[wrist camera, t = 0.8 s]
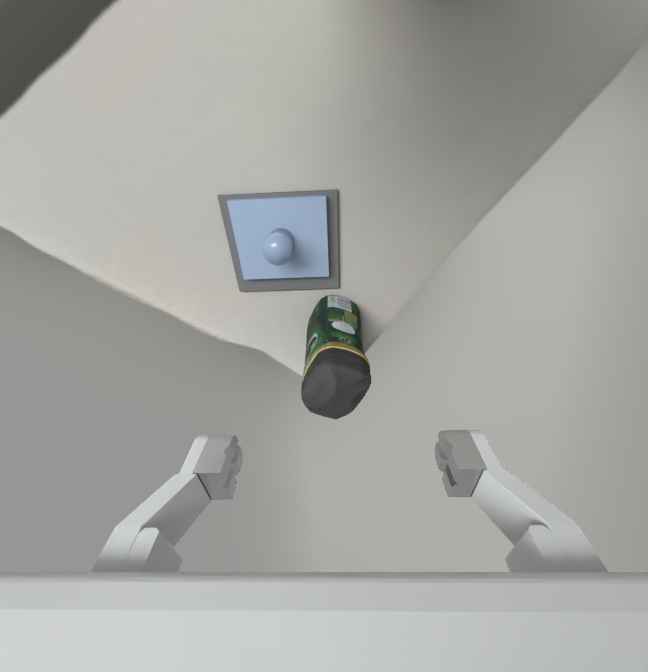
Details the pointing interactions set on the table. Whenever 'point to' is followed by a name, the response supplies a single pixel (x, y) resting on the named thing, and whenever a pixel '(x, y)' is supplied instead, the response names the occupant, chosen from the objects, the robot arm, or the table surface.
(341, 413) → the coffee jar
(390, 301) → the table surface
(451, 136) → the table surface
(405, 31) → the table surface
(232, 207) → the lid
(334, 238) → the mat
